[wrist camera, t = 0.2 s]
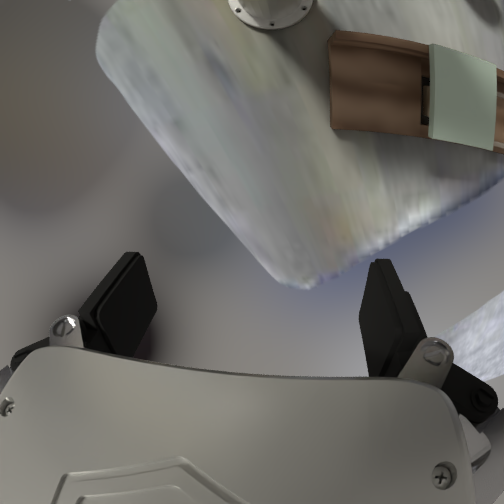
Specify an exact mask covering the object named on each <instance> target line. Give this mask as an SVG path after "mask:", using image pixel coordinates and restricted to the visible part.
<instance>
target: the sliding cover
mask: <svg viewBox="0 0 504 504" xmlns="http://www.w3.org/2000/svg"><path fill="white" fill-rule="evenodd" d="M429 60H430V112H429V130H428V137H430V138H432V139H438V140H443V141H449V142H454V143H459V144H464V145H469V146H474V147H478V148H483V149H487V150H491V151H493V144H494V134H495V122H496V102H497V73H496V65H494V64H492V63H489V62H487V61H484V60H482V59H479V58H477V57H474V56H471V55H468V54H465V53H462V52H459V51H456V50H453V49H450V48H447V47H443V46H440V45H436V44H430V45H429Z"/></svg>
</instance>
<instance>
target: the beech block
mask: <svg viewBox="0 0 504 504" xmlns="http://www.w3.org/2000/svg"><path fill="white" fill-rule="evenodd" d="M429 112H430V86H423V115H424V116H428V117H429Z"/></svg>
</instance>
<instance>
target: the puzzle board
mask: <svg viewBox="0 0 504 504" xmlns="http://www.w3.org/2000/svg"><path fill="white" fill-rule="evenodd" d="M328 52H329V75H330V127H331V128H332V129H344V130H359V131H371V132H382V133H391V134H400V135H408V136H415V137H422V138H429V139H432V138H430V137H428V130H429V125H426V124H420V121H421V77H425V78H430V60H429V45H425V44H421V43H417V42H413V41H408V40H403V39H398V38H393V37H387V36H381V35H375V34H368V33H360V32H351V31H340V30H336V31H335V32H334V33H333V35H332V36H331V37H330V38H329V40H328ZM496 73H497V102H496V122H495V134H494V144H493V152H497V153H501V154H504V71H502V70H500V69H498V68H496ZM435 140H438V139H435ZM441 141H443V140H441ZM446 142H449V141H446ZM452 143H454V142H452ZM457 144H459V143H457ZM462 145H464V144H462ZM467 146H469V145H467ZM472 147H474V146H472ZM476 148H478V147H476ZM481 149H483V148H481ZM485 150H487V149H485ZM489 151H491V150H489Z"/></svg>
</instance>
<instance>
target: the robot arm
mask: <svg viewBox="0 0 504 504" xmlns="http://www.w3.org/2000/svg"><path fill="white" fill-rule="evenodd" d="M312 3H313V0H228V4H229V6H230V8H231V10H232V11H233V13H234V14H235V15H236V16H237V17H238V18H239V19H240V20H241V21H243V22H244V23H246V24H248V25H250V26H253V27H256V28H259V29H266V30H276V29H283V28H286V27H289V26H292V25H294V24H296V23H298V22H299V21H300V20H302V19H303V18H304V17H305V16H306V15H307V14H308V12H309V10H310V9H311V6H312ZM303 8H305V9H306V10H302V9H303ZM238 11H241V12H240V13H238ZM271 24H274V26H271ZM156 311H157V302H156V299H155V296H154V292H153V289H152V285H151V282H150V278H149V275H148V271H147V267H146V264H145V260H144V257H143V256H141V255H140V253H139V252H126V253H124V255H123V256H122V257H121V258H120V260H118V262H117V263H116V264H115V265H114V266H113V268H112V269H111V270H110V271H109V273H108V274H107V275H106V276H105V278H104V279H103V280H102V281H101V282H100V284H99V285H98V286H97V287H96V289H95V290H94V291H93V293H92V294H91V295H90V296H89V298H88V299H87V300H86V302H85V303H84V304H83V306H82V307H81V308H80V309H79V311H78V312H79V314H80V316H79V318H77V317H76V316H73V315H66V316H63V317H61V318H59V319H57V320H56V321H55V322H54V323H53V324H52V325H51V327H50V330H49V337H47V338H45V339H43V340H41V341H38V342H36V343H34V344H32V345H29V346H27V347H25V348H22V349H21V350H18V351H17V352H16V353H15V355H14V356H13V357H12V360H11V367H10V368H9V366H8V365H7V366H6V367H4V368H3V369H2V370H0V504H493V503H494V502H495V500H496V499H497V498H498V497H499V496H500V494H501V493H502V492H503V491H504V408H502V409H501V410H500V409H499V408H498V407H497V406H498V397H497V394H496V392H495V391H494V389H493V388H491V386H489V385H488V384H486V383H485V382H483V381H481V380H480V379H478V378H477V377H475V376H473V375H472V374H470V373H468V372H467V371H465V370H464V369H462V368H460V367H459V366H457V365H455V364H454V363H453V360H454V354H453V351H452V349H451V347H450V346H449V345H448V344H447V343H446V342H445V341H443V340H441V339H439V338H434V337H430V338H428V337H427V335H426V332H425V330H424V327H423V324H422V322H421V320H420V317H419V315H418V312H417V310H416V307H415V305H414V303H413V301H412V298H411V296H410V294H409V292H407V291H404V289H403V286H402V284H401V282H400V280H399V277H398V275H397V273H396V271H395V269H394V266H393V264H392V262H391V260H390V259H376V260H375V262H371V264H370V268H369V272H368V277H367V282H366V286H365V291H364V296H363V299H362V304H361V308H360V312H359V324H360V329H361V334H362V339H363V344H364V350H365V355H366V361H367V367H368V373H369V377H308V376H279V375H262V374H248V373H235V372H226V371H216V370H207V369H199V368H192V367H184V366H177V365H170V364H164V363H158V362H152V361H146V360H140V359H136V358H133V356H134V354H135V352H136V350H137V348H138V346H139V344H140V342H141V340H142V338H143V336H144V334H145V332H146V330H147V328H148V326H149V324H150V322H151V320H152V319H153V317H154V315H155V313H156Z"/></svg>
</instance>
